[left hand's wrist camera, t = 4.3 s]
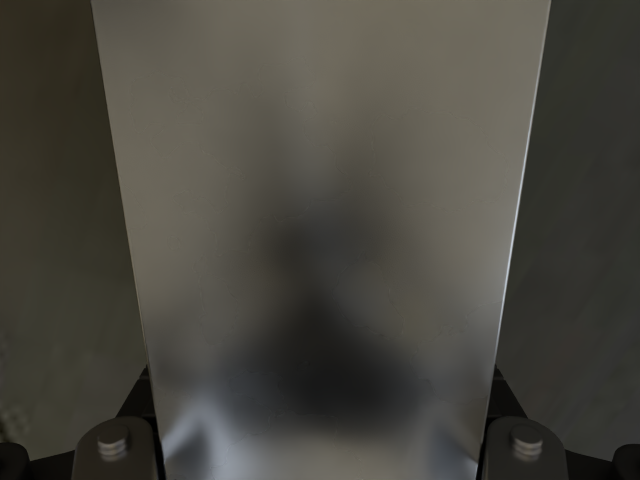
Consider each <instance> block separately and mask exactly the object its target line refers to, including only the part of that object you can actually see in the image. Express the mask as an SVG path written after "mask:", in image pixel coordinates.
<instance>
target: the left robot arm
mask: <svg viewBox="0 0 640 480" xmlns="http://www.w3.org/2000/svg"><path fill="white" fill-rule="evenodd" d="M0 480H166V479H165V472H164V466H163V460H162V453H161V447H160V441H159V435H158V428H157V422H156V416H155V409H154V403H153V397H152V390H151V384H150V378H149V371H148V365H146V368H144V370H143V372H142V373H141V375H140V378H139V380H137V382H136V383H135V385H134V387H133V389H132V390H131V392H130V394H129V395H128V397H127V399H126V400H125V402H124V404H123V405H122V407H121V409H120V411H119V412H118V414H117V416H116V417H115V418H113V419H110V420H107V421H105V422H102V423H100V424H99V425H97V426H95V427H94V428H92V429H91V430H89V431H88V432H87V433H86V434H85V435H84V436H83V437H82V438H81V440H80V441H79V442H78V444H77V446H76V449H75V450H73V451H70V452H66V453H62V454H58V455H54V456H50V457H46V458H42V459H38V460H33V461H30V460H29V456H28V453H27V450H26V449H25V448H24V447H23V446H21V445H20V444H16V443H10V442H6V443H0ZM477 480H640V444H627V445H623V446H621V447H619V448H618V449H617V450H616V451H615V454H614V456H613V460H612V462H610V461H606V460H602V459H598V458H594V457H590V456H585V455H581V454H578V453H574V452H571V451H568V450H566V449H564V446H563V444H562V442H561V441H560V440H559V438H558V437H557V436H556V435H555V434H554V433H553V432H552V431H551V430H549V429H548V428H546V427H545V426H543V425H541V424H540V423H538V422H535V421H533V420H530V419H528V417H527V416H526V414H525V412H524V411H523V409H522V407H521V406H520V404H519V402H518V401H517V399H516V397H515V396H514V394H513V392H512V391H511V389H510V387H509V386H508V384H507V382H506V381H505V380H504V379H503V376H502V374H501V372H500V371H499V369H497V366H496V364H495V367H494V374H493V380H492V387H491V393H490V399H489V406H488V412H487V418H486V425H485V431H484V438H483V444H482V450H481V457H480V463H479V469H478V476H477Z"/></svg>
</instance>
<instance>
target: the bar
mask: <svg viewBox="0 0 640 480" xmlns="http://www.w3.org/2000/svg"><path fill="white" fill-rule="evenodd" d="M90 4H91V11H92V17H93V23H94V30H95V36H96V42H97V49H98V55H99V61H100V68H101V74H102V80H103V87H104V93H105V99H106V106H107V112H108V118H109V125H110V131H111V137H112V144H113V150H114V156H115V163H116V169H117V175H118V182H119V188H120V194H121V200H122V207H123V213H124V219H125V226H126V232H127V238H128V245H129V251H130V257H131V264H132V270H133V276H134V283H135V289H136V295H137V302H138V308H139V314H140V321H141V327H142V333H143V340H144V346H145V352H146V359H147V365H148V371H149V378H150V384H151V390H152V397H153V403H154V409H155V416H156V422H157V428H158V435H159V441H160V447H161V453H162V460H163V466H164V472H165V479H166V480H477V476H478V469H479V463H480V457H481V450H482V444H483V438H484V431H485V425H486V418H487V412H488V406H489V399H490V393H491V387H492V380H493V374H494V367H495V361H496V355H497V348H498V342H499V336H500V329H501V323H502V316H503V310H504V304H505V297H506V291H507V285H508V278H509V272H510V265H511V259H512V253H513V246H514V240H515V234H516V227H517V221H518V214H519V208H520V202H521V195H522V189H523V183H524V176H525V170H526V163H527V157H528V151H529V144H530V138H531V132H532V125H533V119H534V112H535V106H536V100H537V93H538V87H539V81H540V74H541V68H542V61H543V55H544V49H545V42H546V36H547V30H548V23H549V17H550V10H551V4H552V0H90Z"/></svg>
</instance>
